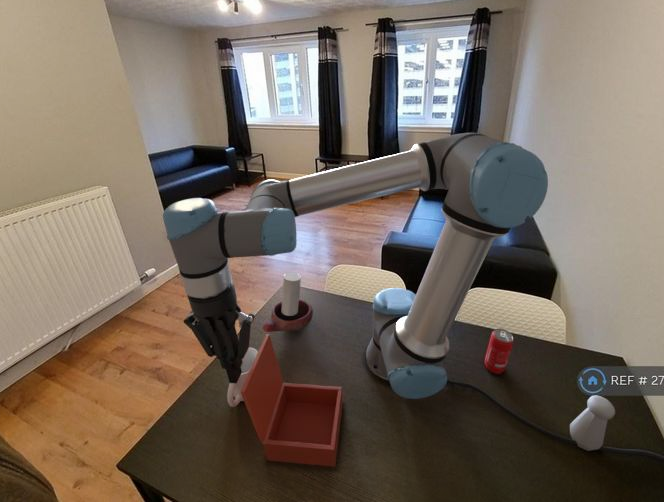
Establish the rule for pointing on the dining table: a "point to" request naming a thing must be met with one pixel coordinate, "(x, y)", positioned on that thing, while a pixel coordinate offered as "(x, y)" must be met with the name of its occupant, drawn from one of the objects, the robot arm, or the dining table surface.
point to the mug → (241, 378)
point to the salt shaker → (592, 423)
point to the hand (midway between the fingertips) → (235, 377)
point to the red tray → (305, 425)
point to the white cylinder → (291, 294)
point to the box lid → (262, 388)
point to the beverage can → (498, 350)
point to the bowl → (289, 318)
